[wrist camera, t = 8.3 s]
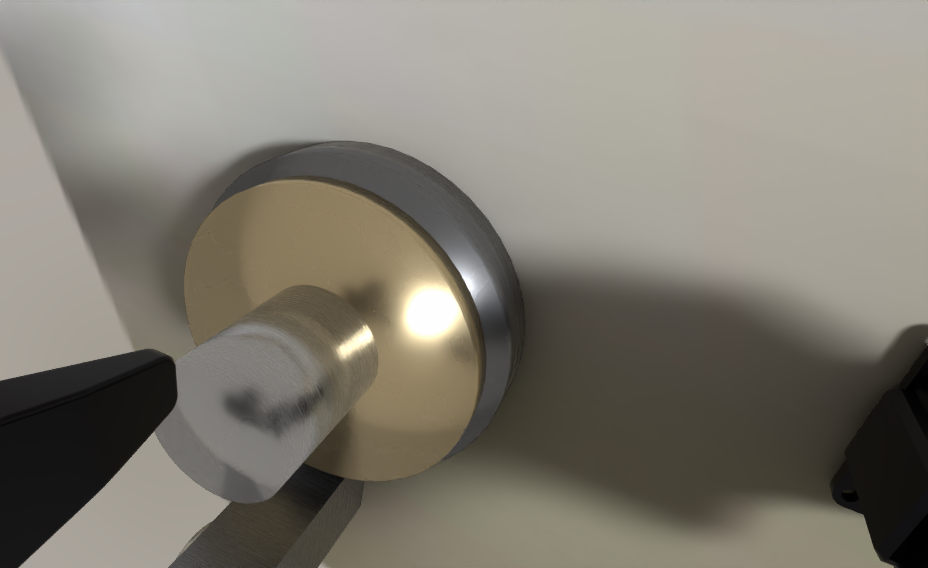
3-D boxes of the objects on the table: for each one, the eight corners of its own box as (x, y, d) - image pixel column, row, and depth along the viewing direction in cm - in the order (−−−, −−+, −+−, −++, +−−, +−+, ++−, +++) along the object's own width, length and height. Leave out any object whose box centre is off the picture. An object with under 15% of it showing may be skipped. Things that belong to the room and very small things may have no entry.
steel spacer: (386, 313, 18) (289, 405, 14) (370, 419, 20) (281, 527, 16) (267, 266, 19) (141, 340, 15) (263, 372, 21) (152, 462, 17)
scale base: (567, 204, 18) (467, 345, 11) (460, 555, 27) (361, 774, 19) (236, 99, 21) (-31, 150, 13) (233, 446, 29) (66, 600, 22)
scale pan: (524, 242, 17) (514, 254, 16) (451, 507, 22) (440, 527, 21) (201, 132, 19) (178, 138, 18) (206, 395, 25) (188, 408, 24)
